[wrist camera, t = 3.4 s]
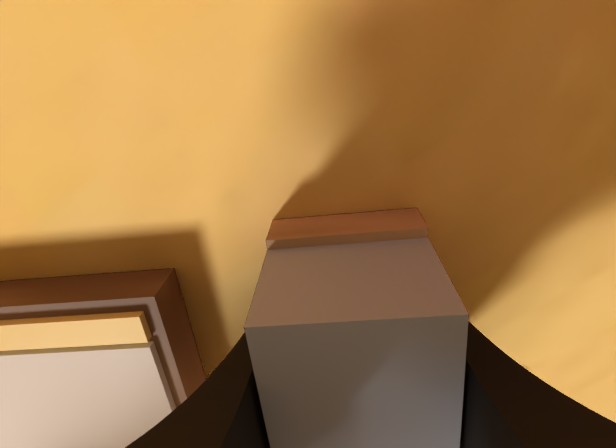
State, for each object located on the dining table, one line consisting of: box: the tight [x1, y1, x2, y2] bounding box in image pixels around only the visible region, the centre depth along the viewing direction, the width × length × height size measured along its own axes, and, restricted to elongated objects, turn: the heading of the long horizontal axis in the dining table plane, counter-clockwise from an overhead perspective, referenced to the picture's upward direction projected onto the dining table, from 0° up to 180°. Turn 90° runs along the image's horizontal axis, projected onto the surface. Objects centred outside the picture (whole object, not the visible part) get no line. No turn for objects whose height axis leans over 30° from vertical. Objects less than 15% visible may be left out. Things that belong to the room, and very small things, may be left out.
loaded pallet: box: [244, 208, 469, 448], centre depth 12 cm, size 7×5×5 cm, turn 6°
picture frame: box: [0, 268, 206, 448], centre depth 16 cm, size 13×12×2 cm
